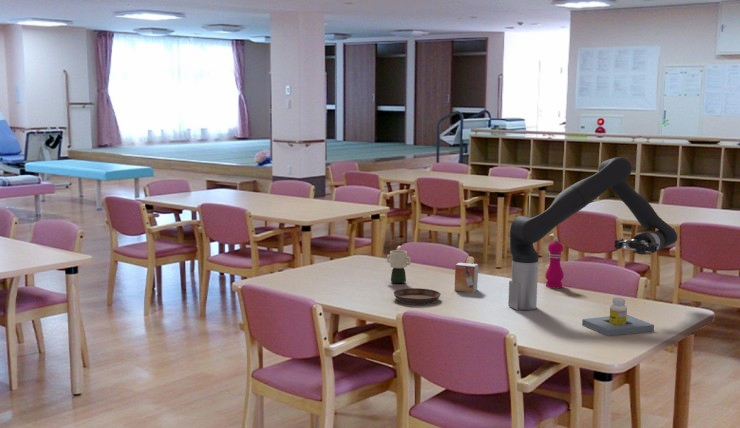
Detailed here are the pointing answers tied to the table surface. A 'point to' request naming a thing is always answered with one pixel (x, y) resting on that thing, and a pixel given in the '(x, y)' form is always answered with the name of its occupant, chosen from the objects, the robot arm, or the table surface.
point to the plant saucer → (417, 296)
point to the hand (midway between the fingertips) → (628, 247)
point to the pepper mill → (554, 265)
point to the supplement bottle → (618, 312)
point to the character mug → (398, 265)
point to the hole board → (611, 330)
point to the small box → (466, 277)
